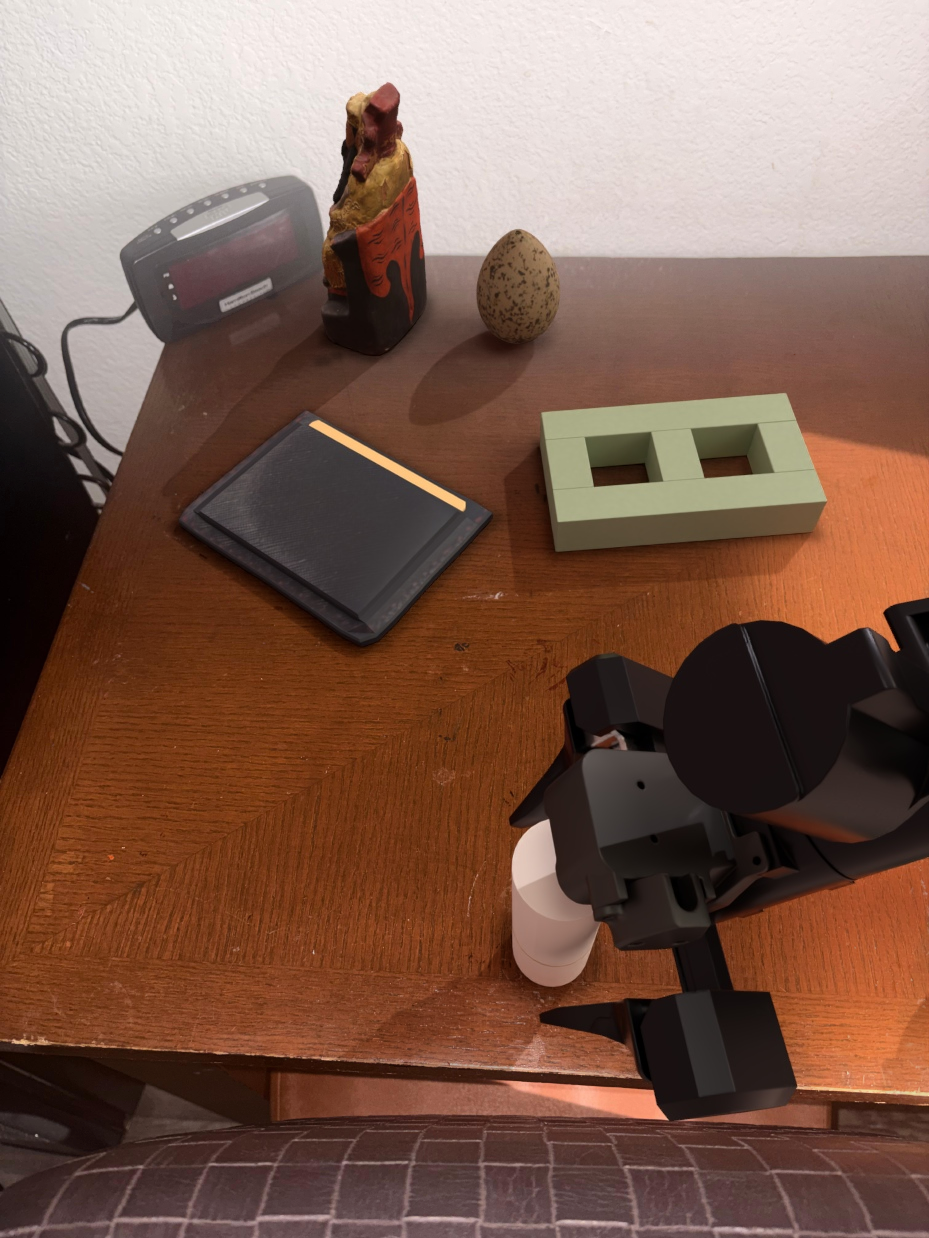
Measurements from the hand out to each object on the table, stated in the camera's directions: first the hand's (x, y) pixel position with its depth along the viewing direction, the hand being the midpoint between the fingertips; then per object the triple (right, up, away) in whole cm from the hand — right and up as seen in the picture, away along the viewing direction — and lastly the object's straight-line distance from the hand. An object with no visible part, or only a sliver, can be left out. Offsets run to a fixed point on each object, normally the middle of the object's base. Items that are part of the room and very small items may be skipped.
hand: (529, 915), depth 41 cm
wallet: (-13, +22, +24) cm, 35 cm away
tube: (+2, -4, +7) cm, 8 cm away
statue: (-11, +41, +37) cm, 56 cm away
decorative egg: (+2, +40, +35) cm, 53 cm away
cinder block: (+13, +25, +24) cm, 37 cm away
